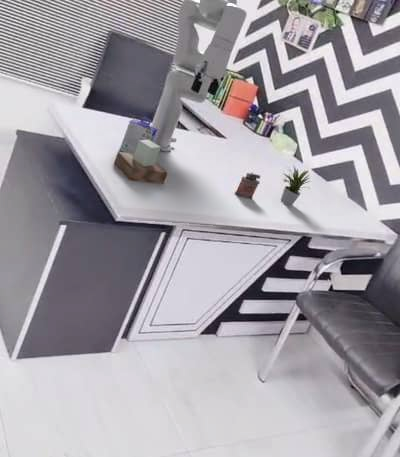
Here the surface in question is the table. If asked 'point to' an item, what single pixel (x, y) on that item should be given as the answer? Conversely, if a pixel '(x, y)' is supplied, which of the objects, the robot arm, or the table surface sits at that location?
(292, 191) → the house plant
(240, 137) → the table surface
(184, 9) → the robot arm
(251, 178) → the lighter
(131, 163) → the walnut block
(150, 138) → the ink cartridge box
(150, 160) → the sage box
